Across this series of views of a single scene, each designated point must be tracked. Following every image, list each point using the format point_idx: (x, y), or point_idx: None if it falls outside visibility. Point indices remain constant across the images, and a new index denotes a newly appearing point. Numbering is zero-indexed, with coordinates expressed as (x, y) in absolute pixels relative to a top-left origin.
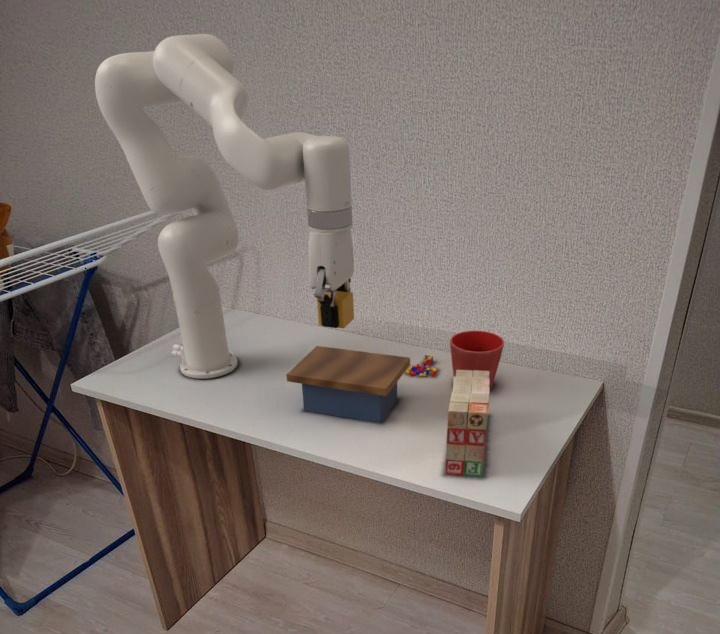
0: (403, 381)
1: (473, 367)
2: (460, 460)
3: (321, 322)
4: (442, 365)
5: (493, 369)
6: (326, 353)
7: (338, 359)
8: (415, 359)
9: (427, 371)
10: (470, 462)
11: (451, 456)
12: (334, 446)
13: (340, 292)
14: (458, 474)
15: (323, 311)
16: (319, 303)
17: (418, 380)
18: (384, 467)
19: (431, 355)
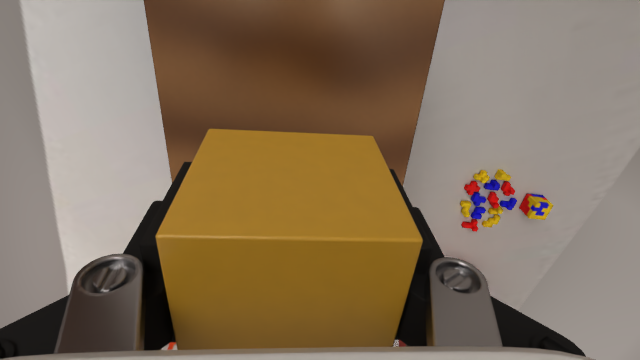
0: (435, 176)
1: (399, 343)
2: None
3: (180, 169)
4: (517, 228)
5: None
6: (379, 27)
7: (332, 93)
8: (555, 172)
9: (473, 218)
10: None
11: None
12: (91, 123)
13: (373, 332)
14: None
15: (126, 250)
16: (75, 282)
17: (442, 202)
18: (78, 232)
19: (544, 216)
